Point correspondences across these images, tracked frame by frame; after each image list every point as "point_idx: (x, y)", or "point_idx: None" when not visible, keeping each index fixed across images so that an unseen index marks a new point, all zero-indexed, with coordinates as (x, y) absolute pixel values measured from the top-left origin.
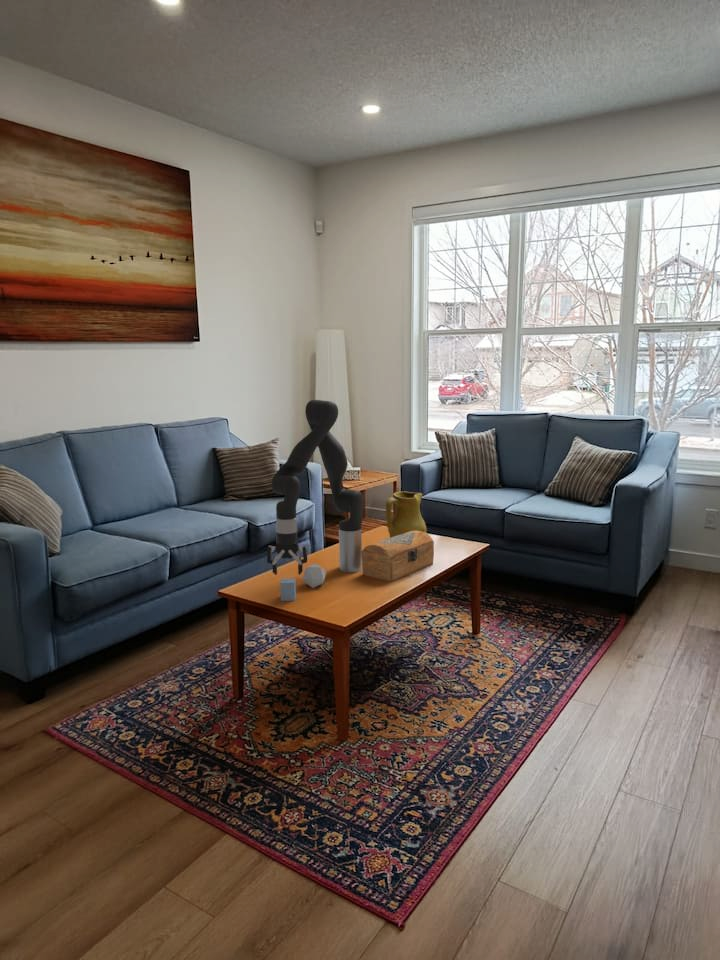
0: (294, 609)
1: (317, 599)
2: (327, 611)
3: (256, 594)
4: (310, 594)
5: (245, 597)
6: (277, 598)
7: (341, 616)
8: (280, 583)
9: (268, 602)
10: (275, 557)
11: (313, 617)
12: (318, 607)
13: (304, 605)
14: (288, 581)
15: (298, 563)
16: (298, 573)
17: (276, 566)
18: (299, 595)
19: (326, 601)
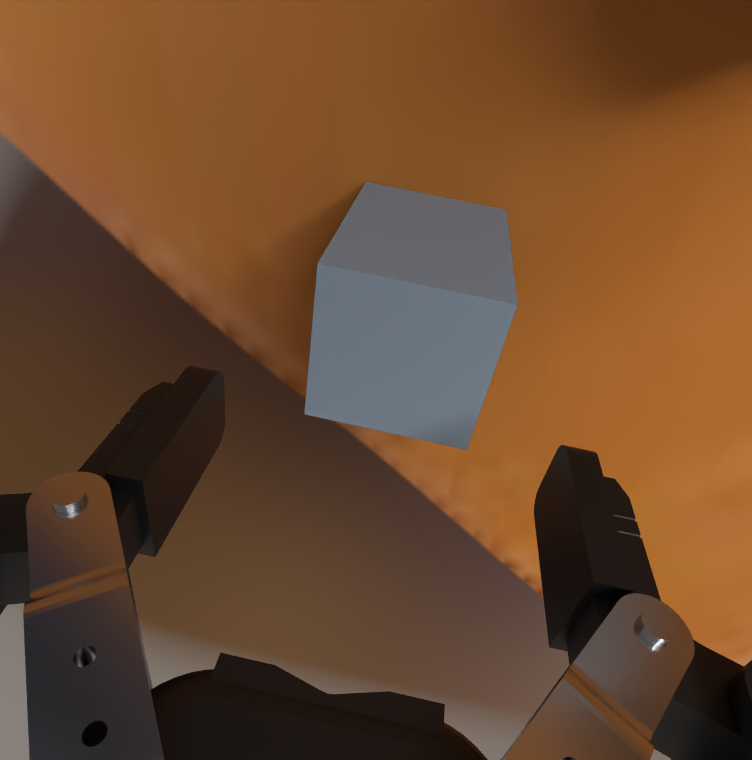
0: (443, 467)
1: (691, 334)
2: (658, 545)
3: (81, 42)
4: (683, 178)
5: (3, 122)
6: (317, 222)
7: (708, 615)
8: (308, 411)
9: (246, 300)
10: (33, 593)
11: (536, 584)
12: (624, 480)
13: (531, 424)
14: (402, 394)
15: (557, 682)
16: (536, 519)
17: (168, 506)
18: (549, 183)
19: (749, 396)
